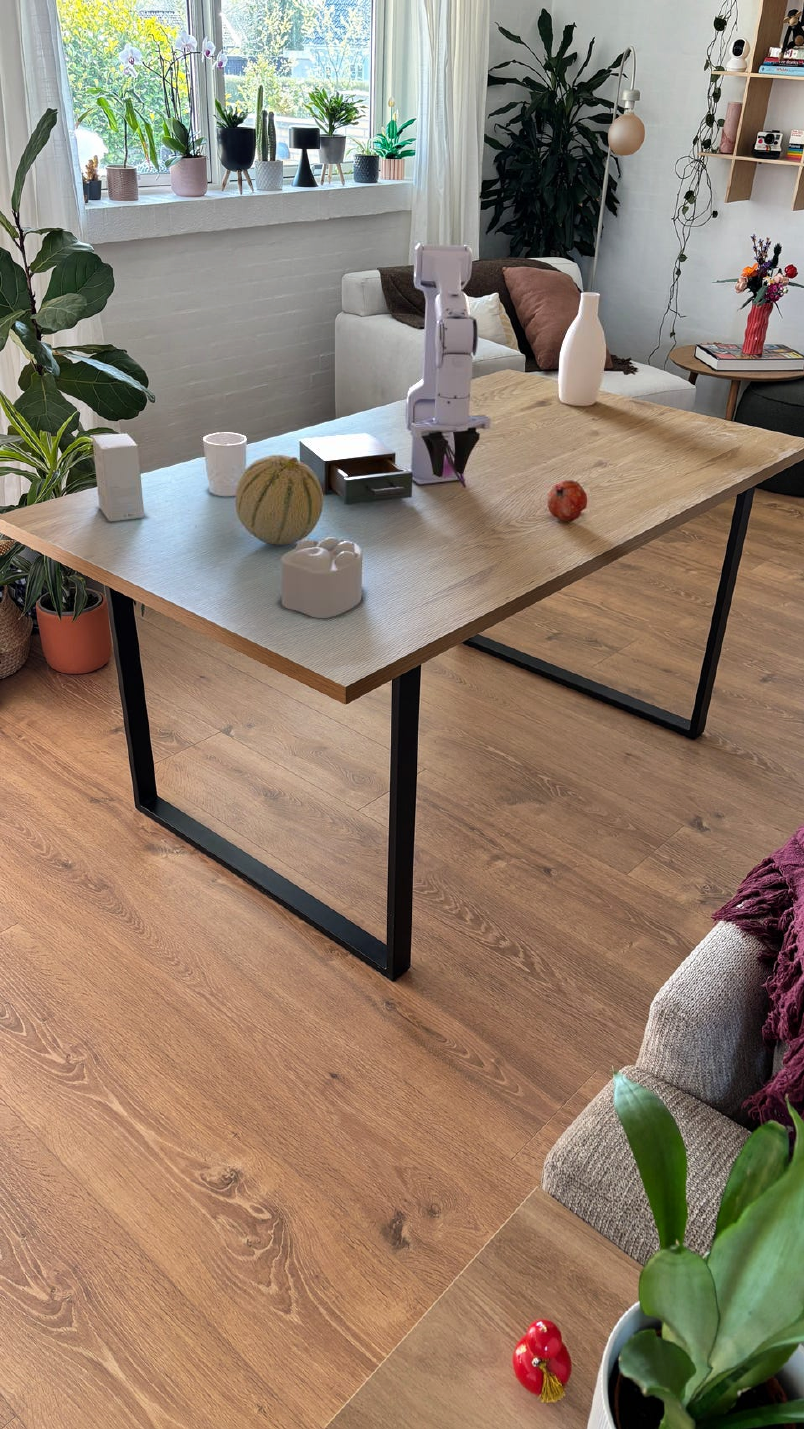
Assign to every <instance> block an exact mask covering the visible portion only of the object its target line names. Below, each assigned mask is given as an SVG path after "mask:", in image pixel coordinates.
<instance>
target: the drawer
mask: <svg viewBox="0 0 804 1429" xmlns="http://www.w3.org/2000/svg"><path fill="white" fill-rule="evenodd" d="M404 470H405V469H403V468H402V467H400V466H399V465H398V464H396V462H395V463H394V462H392V461H391V460H389V459H388V458H381V459H372V460H363V461H353V462H344V463H335V464H329V472H328V485H329V486H330V487H331V488H332V489H334V490H335V491H336V492H337V493H336V494H338V495H339V496H340V497H341V498H342V499H343V500H342V502H343V505H344V506H352V505H359V504H367V503H374V502H376V503H377V502H384V501H392V500H400V499H408V498H412V497H413V480H412V479H413V472H411V471H404Z"/></svg>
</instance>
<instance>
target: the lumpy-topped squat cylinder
mask: <svg viewBox="0 0 804 1429" xmlns="http://www.w3.org/2000/svg"><path fill="white" fill-rule="evenodd" d="M280 575H281V576H280V580H281V581H280V582H281V584H280V585H281V586H280V587H281V605H282V607H283V608H286V609H288V610H293V611H296V612H300V613H302V614H305V615H307V616H309V617H311V618H312V617H313V618H315V619H328V618H329V619H330V618H333V617H337V616H339V615H341V614H343V613H345V612H347V611H349V610H351V609H353V608H354V607H356V606H357V605H358V604H360V602H361V599H362V596H363V595H362V592H363V591H362V590H363V589H362V586H363V550H362V549H361V547H360V546H359V545H358V544H357V543H355V542H352V541H348V540H344V539H338V538H336V537H334V536H329V537H328V536H327V537H325V538H324V539H323V540H312V539H309V538H303V539H301V540H299V541H298V542H297V544H296V546H295V548H293V549H291V550H289V551H288V552H286V553H284V554H283V555H282V556H281V558H280Z"/></svg>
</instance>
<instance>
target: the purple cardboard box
mask: <svg viewBox="0 0 804 1429" xmlns="http://www.w3.org/2000/svg"><path fill="white" fill-rule="evenodd" d="M442 436H443V434H442ZM444 439H445V438H444ZM449 450H450V451H449ZM450 452H451V454H452V455H453V457H454V455H455V453H454V452H453V450H452V448H451V447H450V445H449V444H448V445H447V448H446V451H445V455H446V458H445V457H444V467H443V475H442V477H449V476H451V475H452V474H453V473H455V474H456V476H457V477H458V479H459V480H458V481H459V483H460V484H461V485H462V487H463V488H464V489H465V488H467V485H466V482H465V481H466V478H465V472H464V473H463V474H460V476H459V475H458V473H457V471H456V470H455V467H454V460H453V459H452V457H451V454H450ZM431 475H432V476H433V475H434V474H433V473H432V474H431ZM460 477H461V478H460Z"/></svg>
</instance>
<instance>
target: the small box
mask: <svg viewBox="0 0 804 1429" xmlns="http://www.w3.org/2000/svg"><path fill="white" fill-rule="evenodd" d="M91 439H92V448H93V459H94V469H95V478H96V486H97V497H98V499H97V500H98V508H99V509H100V510H101V511H102V513H103V514H104V516H105V517H106V519H107V520H108V521H109V522H117V521H119V522H120V521H127V520H134V519H141V518H145V510H144V509H145V508H144V499H143V487H142V476H141V465H140V451H139V445H138V444H137V443H136V442H135V441H134V440H133V438H132V437H131V436H130V435H129V434H128V433H115V434H103V435H93V436H92V437H91Z"/></svg>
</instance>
